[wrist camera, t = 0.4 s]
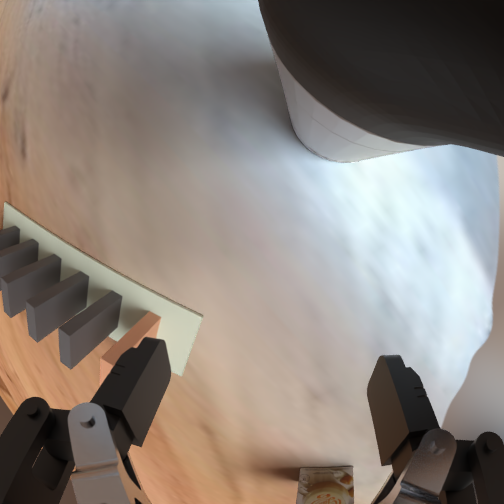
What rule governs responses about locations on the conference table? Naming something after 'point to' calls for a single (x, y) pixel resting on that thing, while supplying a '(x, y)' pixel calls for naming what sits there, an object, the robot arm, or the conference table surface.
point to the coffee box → (326, 486)
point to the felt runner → (115, 290)
